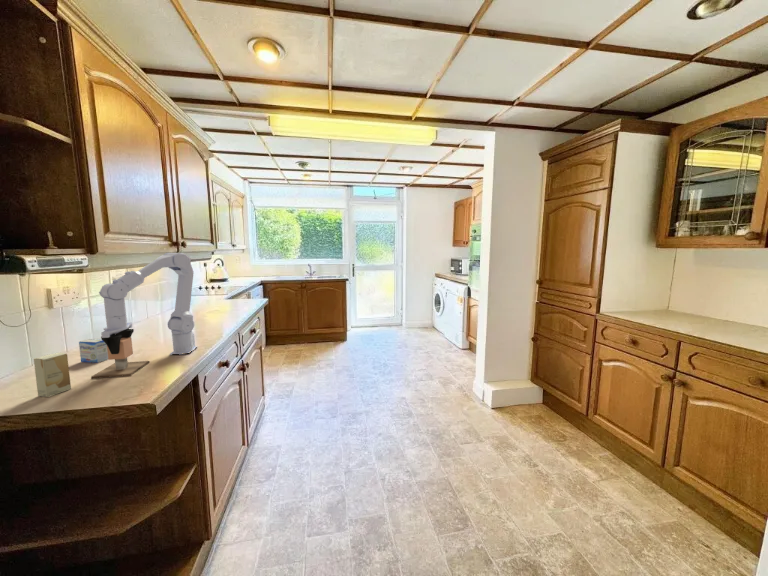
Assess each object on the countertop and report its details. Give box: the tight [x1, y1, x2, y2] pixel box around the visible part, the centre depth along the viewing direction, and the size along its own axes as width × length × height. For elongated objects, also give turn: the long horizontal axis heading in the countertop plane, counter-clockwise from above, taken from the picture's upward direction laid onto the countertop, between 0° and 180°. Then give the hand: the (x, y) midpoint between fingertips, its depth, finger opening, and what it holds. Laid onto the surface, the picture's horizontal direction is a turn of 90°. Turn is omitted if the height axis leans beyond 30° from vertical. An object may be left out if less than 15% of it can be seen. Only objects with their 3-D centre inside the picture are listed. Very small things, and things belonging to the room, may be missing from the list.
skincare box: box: [33, 352, 72, 398], centre depth 97 cm, size 6×4×12 cm
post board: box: [90, 357, 150, 380], centre depth 115 cm, size 13×12×7 cm
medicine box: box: [78, 338, 108, 364], centre depth 124 cm, size 8×4×9 cm, turn 84°
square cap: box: [107, 337, 134, 361], centre depth 114 cm, size 5×5×7 cm
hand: (120, 351), depth 114 cm, fingers closed on square cap, 5 cm apart
